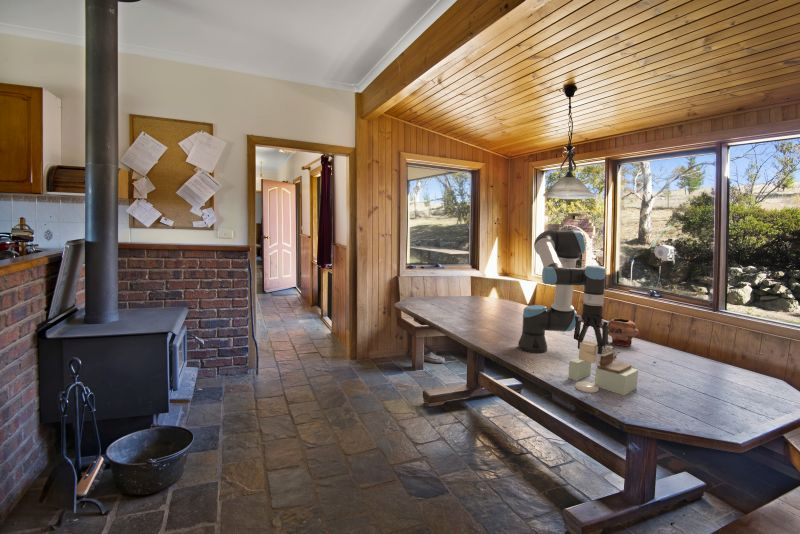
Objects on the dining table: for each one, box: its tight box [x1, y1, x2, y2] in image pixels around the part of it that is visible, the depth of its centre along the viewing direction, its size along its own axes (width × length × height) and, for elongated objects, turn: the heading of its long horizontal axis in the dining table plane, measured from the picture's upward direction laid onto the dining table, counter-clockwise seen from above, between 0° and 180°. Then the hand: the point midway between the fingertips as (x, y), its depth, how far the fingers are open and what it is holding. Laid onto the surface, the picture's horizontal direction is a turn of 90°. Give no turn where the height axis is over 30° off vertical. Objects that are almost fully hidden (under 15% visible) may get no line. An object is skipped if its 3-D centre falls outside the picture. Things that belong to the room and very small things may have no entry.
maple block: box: [578, 340, 598, 364], centre depth 185 cm, size 6×6×7 cm
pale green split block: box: [567, 356, 639, 396], centre depth 192 cm, size 24×12×8 cm, turn 41°
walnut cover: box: [596, 352, 632, 373], centre depth 188 cm, size 9×12×5 cm
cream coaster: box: [575, 381, 600, 394], centre depth 186 cm, size 9×9×1 cm
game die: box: [600, 343, 620, 361], centre depth 223 cm, size 9×8×10 cm
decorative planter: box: [600, 318, 640, 347], centre depth 254 cm, size 20×12×14 cm, turn 53°
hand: (589, 359), depth 185 cm, fingers closed on maple block, 6 cm apart
